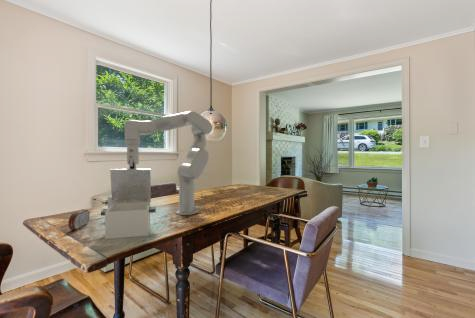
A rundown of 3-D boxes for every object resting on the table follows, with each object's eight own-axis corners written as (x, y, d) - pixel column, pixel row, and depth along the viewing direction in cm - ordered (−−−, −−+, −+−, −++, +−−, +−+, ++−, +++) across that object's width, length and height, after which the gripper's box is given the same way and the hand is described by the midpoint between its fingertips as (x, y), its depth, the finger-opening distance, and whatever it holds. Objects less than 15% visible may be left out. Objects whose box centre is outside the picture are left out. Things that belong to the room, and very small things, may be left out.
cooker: (155, 223, 132) (155, 201, 131) (155, 234, 115) (155, 209, 114) (106, 227, 125) (106, 204, 124) (97, 239, 108) (97, 212, 107)
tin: (84, 223, 132) (84, 207, 132) (90, 222, 132) (90, 207, 132) (67, 232, 117) (67, 214, 117) (74, 232, 117) (74, 214, 117)
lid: (150, 202, 131) (150, 199, 133) (150, 169, 126) (150, 167, 128) (112, 203, 125) (113, 201, 128) (110, 169, 120) (111, 167, 123)
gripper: (138, 143, 125) (138, 178, 125) (141, 143, 139) (141, 175, 140) (122, 142, 123) (122, 179, 123) (127, 143, 137) (127, 176, 138)
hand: (132, 177), depth 131 cm, fingers closed
